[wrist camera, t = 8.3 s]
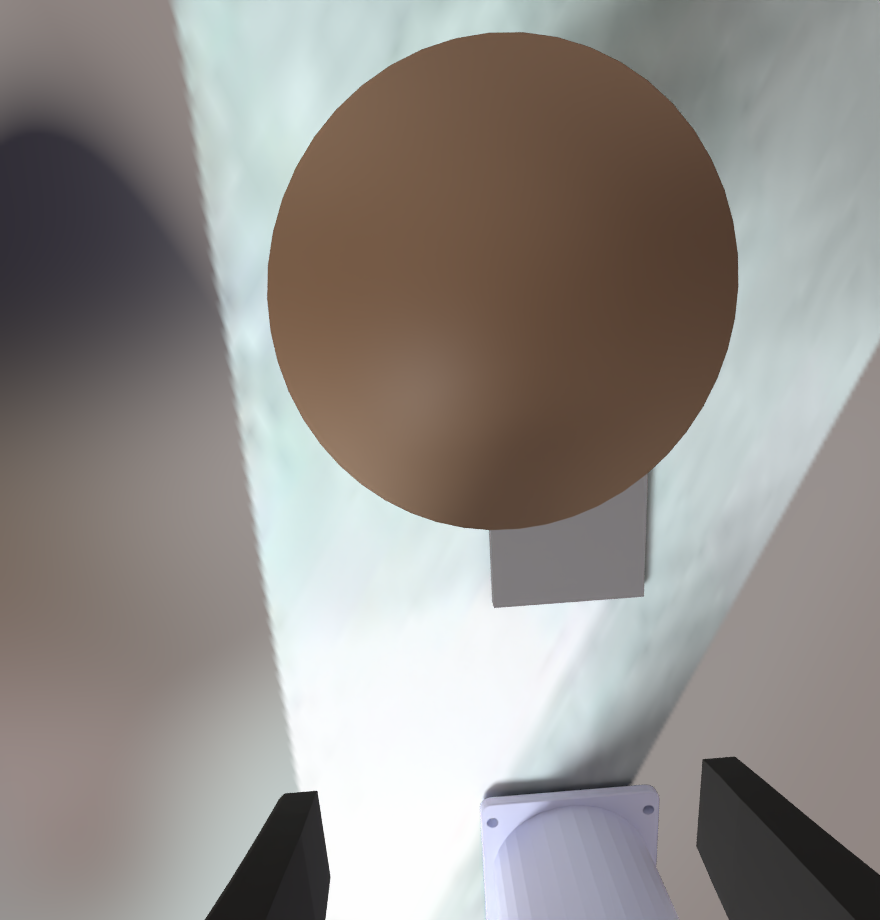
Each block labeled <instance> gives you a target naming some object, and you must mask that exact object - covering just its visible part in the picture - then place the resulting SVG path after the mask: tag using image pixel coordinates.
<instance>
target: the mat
mask: <svg viewBox="0 0 880 920" xmlns="http://www.w3.org/2000/svg"><path fill="white" fill-rule="evenodd" d="M647 488H648V473H647V474H646V475H645V476H644V477H642V478H641V479H640V480H638V481H637V482H636V483H634V484H633V485H632V486H630V487H629V488H628V489H626V490H625V491H623V492H622V493H620V494H618V495H617V496H615V497H613V498H611V499H610V500H608V501H606V502H604V503H603V504H601V505H599V506H597V507H595V508H592V509H590V510H588V511H585V512H583V513H581V514H578V515H576V516H574V517H570V518H567V519H564V520H560V521H557V522H553V523H550V524H546V525H540V526H534V527H528V528H522V529H506V530H489V538H490V560H491V583H492V602H493V606H494V608H499V607H512V606H525V605H539V604H552V603H565V602H578V601H591V600H605V599H618V598H631V597H644V575H645V546H646V517H647Z"/></svg>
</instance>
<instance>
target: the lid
mask: <svg viewBox="0 0 880 920" xmlns="http://www.w3.org/2000/svg"><path fill="white" fill-rule="evenodd" d="M737 294H738V252H737V245H736V238H735V231H734V224H733V219H732V215H731V212H730V208H729V205H728V201H727V197H726V194H725V190H724V188H723V185H722V183H721V181H720V178H719V176H718V173H717V171H716V169H715V166H714V164H713V162H712V159H711V158H710V156H709V154H708V152H707V151H706V149H705V147H704V146H703V144H702V142H701V141H700V139H699V137H698V136H697V134H696V132H695V131H694V129H693V128H692V127H691V126H690V124H689V123H688V122H687V121H686V119H685V118H684V117H683V116H682V114H681V113H680V112H679V111H678V109H677V108H676V107H675V106H674V104H673V103H672V102H670V101H669V100H668V99H667V98H666V97H665V96H664V95H663V94H662V93H661V92H660V91H659V90H658V89H656V88H655V87H654V86H653V85H652V84H651V83H650V82H649V81H648V80H646V79H645V78H643V77H642V76H640V75H639V74H637V73H636V72H634V71H633V70H632V69H630V68H629V67H627V66H626V65H624V64H623V63H621V62H620V61H618V60H615V59H613V58H611V57H609V56H607V55H605V54H603V53H601V52H599V51H597V50H595V49H593V48H591V47H588V46H584V45H581V44H578V43H575V42H571V41H568V40H565V39H561V38H558V37H552V36H545V35H538V34H531V33H524V32H515V33H485V34H479V35H473V36H467V37H462V38H456V39H452V40H449V41H446V42H443V43H440V44H437V45H434V46H431V47H428V48H425V49H422V50H420V51H418V52H416V53H414V54H412V55H410V56H408V57H406V58H404V59H402V60H400V61H398V62H396V63H394V64H392V65H390V66H389V67H387V68H386V69H385V70H383V71H382V72H380V73H379V74H377V75H376V76H375V77H373V78H372V79H370V80H369V81H368V82H366V83H365V84H363V85H362V86H361V87H360V88H359V89H358V90H357V91H355V92H354V93H353V94H352V95H351V96H350V97H349V98H348V99H347V100H346V101H345V102H344V103H343V104H342V105H341V106H340V107H339V108H337V109H336V110H335V112H334V113H333V114H332V115H331V117H330V118H329V119H328V120H327V122H326V123H325V124H324V125H323V127H322V128H321V129H320V130H319V132H318V133H317V134H316V135H315V137H314V138H313V140H312V142H311V143H310V145H309V147H308V148H307V150H306V152H305V153H304V155H303V157H302V158H301V160H300V162H299V163H298V165H297V167H296V169H295V171H294V173H293V176H292V178H291V180H290V183H289V185H288V187H287V190H286V192H285V194H284V197H283V199H282V202H281V206H280V209H279V213H278V216H277V220H276V223H275V227H274V230H273V236H272V242H271V249H270V256H269V262H268V291H267V300H268V310H269V319H270V329H271V334H272V339H273V343H274V347H275V352H276V356H277V360H278V364H279V366H280V369H281V372H282V374H283V377H284V380H285V383H286V385H287V388H288V391H289V393H290V395H291V397H292V399H293V401H294V402H295V404H296V406H297V408H298V410H299V412H300V414H301V416H302V418H303V420H304V421H305V422H306V424H307V425H308V427H309V428H310V430H311V431H312V433H313V434H314V435H315V437H316V438H317V440H318V441H319V443H320V444H321V445H322V446H323V447H324V448H325V450H326V451H327V452H328V453H329V454H330V455H331V456H332V457H333V459H334V460H335V461H336V462H337V463H338V464H339V465H340V466H341V467H342V468H343V469H344V470H346V471H347V472H348V473H349V474H350V475H351V476H352V477H354V478H355V479H356V480H357V481H358V482H359V483H361V484H362V485H363V486H365V487H366V488H368V489H369V490H371V491H372V492H374V493H375V494H377V495H378V496H380V497H381V498H383V499H384V500H386V501H388V502H390V503H392V504H394V505H396V506H398V507H400V508H402V509H404V510H406V511H408V512H410V513H413V514H415V515H418V516H421V517H424V518H427V519H430V520H433V521H435V522H439V523H444V524H449V525H453V526H458V527H463V528H473V529H485V530H506V529H522V528H528V527H534V526H540V525H546V524H550V523H553V522H557V521H560V520H564V519H567V518H570V517H574V516H576V515H578V514H581V513H583V512H585V511H588V510H590V509H592V508H595V507H597V506H599V505H601V504H603V503H604V502H606V501H608V500H610V499H611V498H613V497H615V496H617V495H618V494H620V493H622V492H623V491H625V490H626V489H628V488H629V487H630V486H632V485H633V484H634V483H636V482H637V481H638V480H640V479H641V478H642V477H644V476H645V475H646V474H647V473H648V472H650V471H651V470H652V469H653V468H654V467H655V466H656V465H657V464H658V463H659V462H660V461H661V460H662V459H663V458H664V457H665V456H666V455H667V454H668V453H669V452H670V451H671V450H672V449H673V447H674V446H675V445H676V444H677V443H678V441H679V440H680V439H681V438H682V437H683V435H684V434H685V433H686V432H687V430H688V429H689V427H690V426H691V424H692V423H693V421H694V420H695V418H696V417H697V415H698V414H699V412H700V411H701V409H702V407H703V406H704V404H705V402H706V400H707V398H708V396H709V394H710V392H711V390H712V388H713V386H714V384H715V382H716V380H717V378H718V375H719V372H720V369H721V367H722V364H723V361H724V358H725V355H726V353H727V350H728V346H729V342H730V337H731V333H732V329H733V324H734V320H735V312H736V303H737Z"/></svg>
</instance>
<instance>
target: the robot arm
mask: <svg viewBox="0 0 880 920" xmlns="http://www.w3.org/2000/svg"><path fill="white" fill-rule="evenodd" d="M480 817H481V834H482V852H483V869H484V886H485V904H486V920H679V917H678V915H677V913H676V911H675V908H674V906H673V904H672V902H671V899H670V897H669V895H668V893H667V891H666V888H665V886H664V884H663V882H662V879H661V877H660V875H659V873H658V871H657V868H656V860H657V840H658V818H659V795H658V793H657V791H656V790H655V788H654V787H653V786H651V785H634V786H622V787H610V788H598V789H586V790H574V791H561V792H549V793H537V794H525V795H513V796H501V797H490V798H486V799H485V800H483V801H482V803H481V804H480ZM491 818H494V819H491ZM696 846H697V848H698V851H699V853H700V855H701V858H702V860H703V862H704V864H705V867H706V869H707V871H708V874H709V876H710V879H711V881H712V883H713V885H714V888H715V890H716V892H717V894H718V897H719V899H720V901H721V903H722V905H723V908H724V910H725V912H726V914H727V916H728V918H729V920H880V875H879V874H878V873H876V872H875V871H874V870H873V869H872V868H870V867H869V866H868V865H867V864H865V863H864V862H863V861H862V860H860V859H859V858H858V857H857V856H855V855H854V854H853V853H852V852H850V851H849V850H848V849H846V848H845V847H844V846H843V845H842V844H840V843H839V842H838V841H837V840H835V839H834V838H833V837H832V836H831V835H829V834H828V833H827V832H826V831H824V830H823V829H822V828H821V827H819V826H818V825H817V824H816V823H815V822H814V821H812V820H811V819H810V818H809V817H807V816H806V815H805V814H804V813H803V812H801V811H800V810H799V809H798V808H796V807H795V806H794V805H793V804H792V803H790V802H789V801H788V800H787V799H786V798H785V797H783V796H782V795H781V794H780V793H778V792H777V791H776V790H775V789H774V788H772V787H771V786H770V785H769V784H768V783H766V782H765V781H764V780H763V779H762V778H760V777H759V776H758V775H757V774H755V773H754V772H753V771H752V770H751V769H749V768H748V767H747V766H746V765H745V764H743V763H742V762H741V761H740V760H738V759H737V758H736V757H725V758H713V759H703V762H702V777H701V790H700V805H699V817H698V832H697V845H696ZM329 884H330V871H329V865H328V858H327V852H326V845H325V838H324V832H323V825H322V819H321V812H320V805H319V799H318V792H317V791H310V792H297V793H286V794H284V795H283V796H282V797H281V798H280V799H279V800H278V802H277V804H276V806H275V807H274V809H273V811H272V812H271V814H270V816H269V817H268V819H267V821H266V823H265V824H264V826H263V828H262V829H261V831H260V833H259V834H258V836H257V838H256V839H255V841H254V843H253V844H252V846H251V848H250V849H249V851H248V853H247V854H246V856H245V857H244V859H243V861H242V862H241V864H240V866H239V867H238V869H237V870H236V872H235V874H234V875H233V877H232V878H231V880H230V882H229V883H228V885H227V886H226V888H225V889H224V891H223V892H222V894H221V896H220V897H219V899H218V900H217V902H216V904H215V905H214V906H213V908H212V910H211V911H210V913H209V914H208V916H207V917H206V919H205V920H325V918H326V909H327V901H328V893H329Z"/></svg>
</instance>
